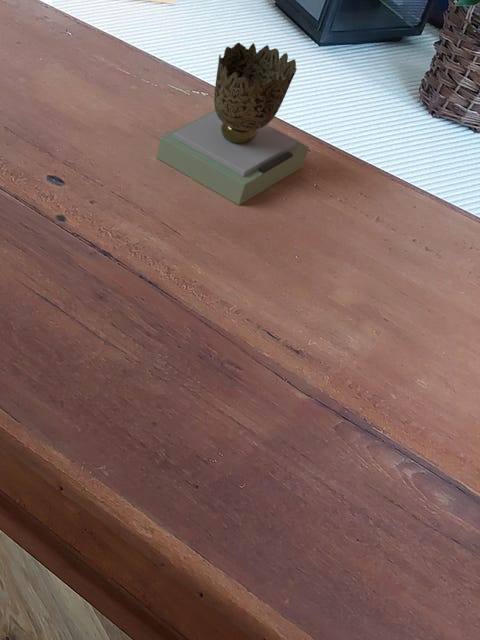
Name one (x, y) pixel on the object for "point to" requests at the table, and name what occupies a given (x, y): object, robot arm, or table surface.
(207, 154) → the scale
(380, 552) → the table surface
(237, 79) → the cup
